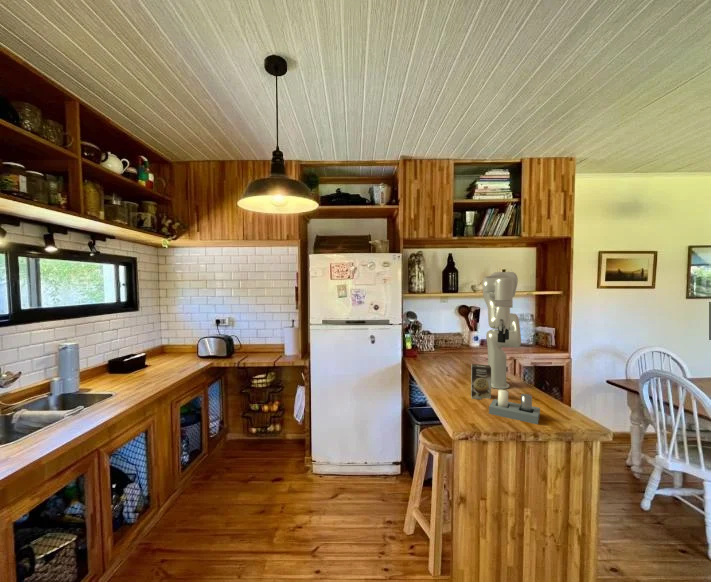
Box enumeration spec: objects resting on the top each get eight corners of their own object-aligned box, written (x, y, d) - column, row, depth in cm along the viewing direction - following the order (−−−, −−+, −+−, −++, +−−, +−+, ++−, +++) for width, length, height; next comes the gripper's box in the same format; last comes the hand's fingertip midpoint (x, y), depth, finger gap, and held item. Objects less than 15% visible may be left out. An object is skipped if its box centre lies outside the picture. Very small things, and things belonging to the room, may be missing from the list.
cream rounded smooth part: (498, 408, 134) (499, 388, 134) (508, 411, 132) (509, 390, 132) (496, 411, 131) (497, 391, 131) (507, 414, 129) (507, 393, 129)
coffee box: (471, 398, 150) (471, 366, 150) (470, 394, 156) (470, 363, 156) (491, 400, 147) (491, 367, 147) (490, 396, 153) (490, 364, 153)
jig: (494, 407, 138) (494, 398, 138) (539, 417, 128) (539, 407, 128) (488, 415, 129) (488, 406, 129) (537, 426, 119) (537, 416, 119)
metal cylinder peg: (521, 414, 129) (521, 393, 129) (532, 416, 127) (532, 394, 127) (520, 417, 126) (520, 395, 126) (531, 419, 123) (531, 397, 123)
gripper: (498, 303, 150) (498, 337, 150) (491, 304, 136) (490, 342, 136) (515, 303, 145) (515, 339, 145) (509, 305, 131) (509, 344, 131)
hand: (503, 340), depth 141 cm, fingers open, 9 cm apart
